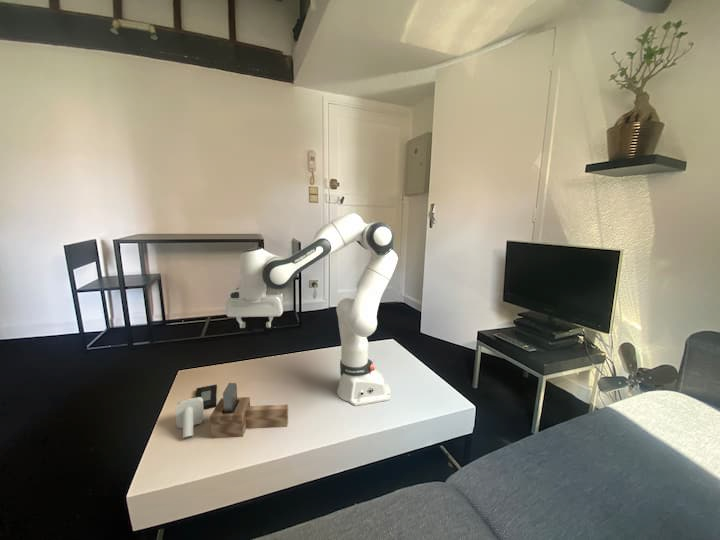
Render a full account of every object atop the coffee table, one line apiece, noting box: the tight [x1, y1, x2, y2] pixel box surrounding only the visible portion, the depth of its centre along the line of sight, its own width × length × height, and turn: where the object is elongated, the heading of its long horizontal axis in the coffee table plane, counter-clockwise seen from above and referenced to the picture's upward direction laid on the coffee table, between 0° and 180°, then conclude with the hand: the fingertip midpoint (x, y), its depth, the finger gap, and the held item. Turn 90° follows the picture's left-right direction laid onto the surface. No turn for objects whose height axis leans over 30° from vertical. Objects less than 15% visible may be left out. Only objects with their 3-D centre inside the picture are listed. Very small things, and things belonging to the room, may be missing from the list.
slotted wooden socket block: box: [209, 396, 289, 439], centre depth 104 cm, size 24×10×8 cm, turn 95°
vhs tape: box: [194, 384, 218, 411], centre depth 119 cm, size 8×14×2 cm, turn 25°
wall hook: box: [175, 397, 205, 439], centre depth 102 cm, size 8×10×10 cm
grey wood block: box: [222, 382, 238, 414], centre depth 102 cm, size 2×6×10 cm, turn 5°
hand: (255, 327), depth 112 cm, fingers open, 8 cm apart
